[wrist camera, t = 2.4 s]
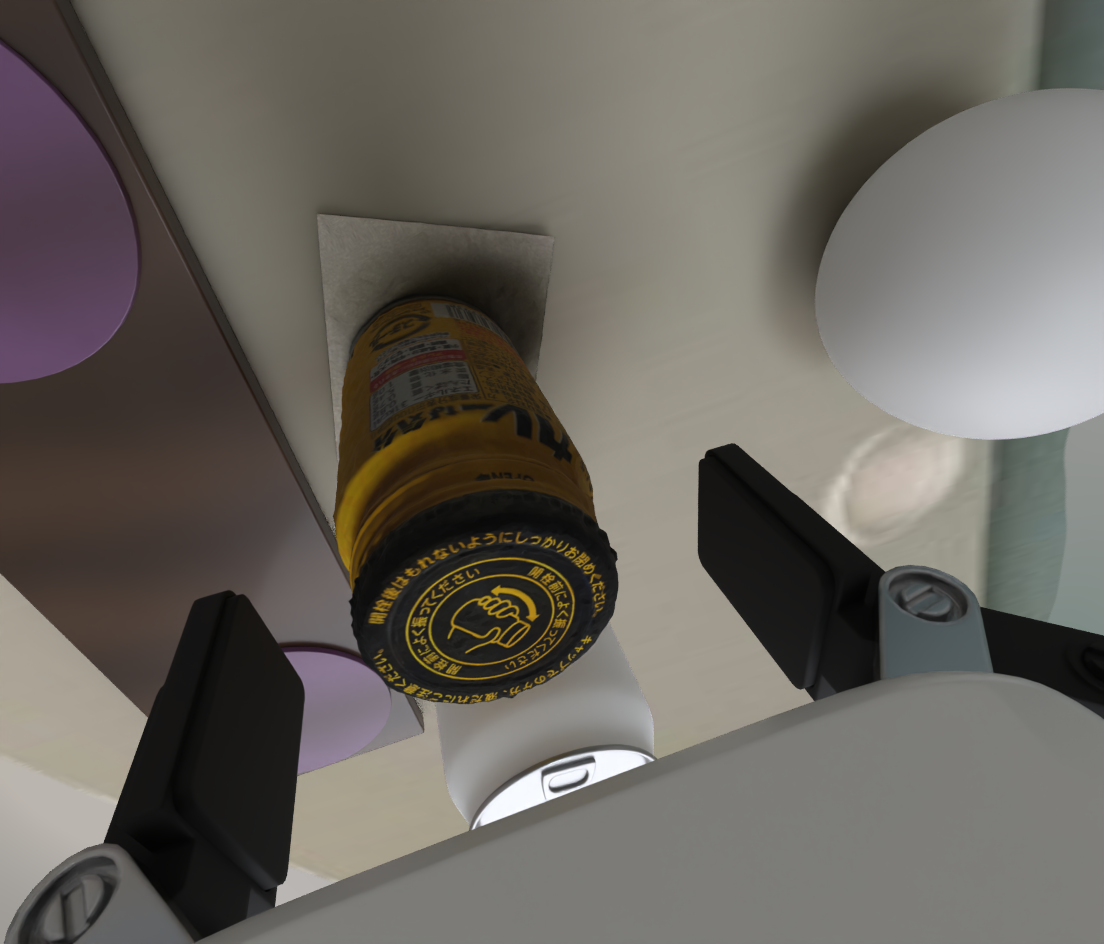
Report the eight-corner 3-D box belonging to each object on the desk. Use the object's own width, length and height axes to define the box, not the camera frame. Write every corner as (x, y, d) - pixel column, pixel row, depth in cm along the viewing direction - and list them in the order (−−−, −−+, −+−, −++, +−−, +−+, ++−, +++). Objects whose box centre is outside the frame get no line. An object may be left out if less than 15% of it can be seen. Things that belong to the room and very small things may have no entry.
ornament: (1034, 176, 23) (1529, 231, 13) (871, 395, 27) (1156, 559, 17) (885, 29, 18) (1480, -54, 8) (715, 320, 22) (987, 487, 13)
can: (423, 603, 26) (460, 897, 16) (407, 489, 22) (443, 780, 13) (556, 578, 28) (661, 833, 18) (561, 468, 24) (695, 713, 14)
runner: (-569, -43, 10) (-674, -59, 9) (19, -104, 12) (-14, -123, 11) (234, 780, 29) (229, 805, 28) (423, 716, 30) (425, 738, 29)
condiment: (337, 458, 21) (316, 763, 11) (316, 212, 16) (254, 368, 7) (525, 452, 23) (643, 704, 13) (552, 234, 19) (755, 376, 9)
